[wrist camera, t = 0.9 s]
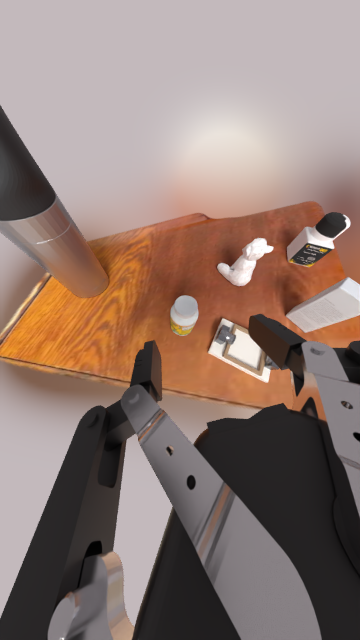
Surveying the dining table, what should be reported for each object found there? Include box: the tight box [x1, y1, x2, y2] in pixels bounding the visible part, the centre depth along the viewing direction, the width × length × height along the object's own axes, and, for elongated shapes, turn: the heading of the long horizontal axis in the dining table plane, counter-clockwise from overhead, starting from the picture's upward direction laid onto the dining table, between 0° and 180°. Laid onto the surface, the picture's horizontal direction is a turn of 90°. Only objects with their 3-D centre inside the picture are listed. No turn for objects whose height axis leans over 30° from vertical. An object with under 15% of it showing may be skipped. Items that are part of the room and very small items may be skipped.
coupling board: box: [208, 318, 270, 382], centre depth 29 cm, size 13×9×2 cm
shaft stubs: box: [215, 325, 279, 370], centre depth 27 cm, size 13×4×2 cm, turn 63°
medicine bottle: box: [287, 212, 350, 267], centre depth 38 cm, size 7×7×12 cm
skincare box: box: [286, 277, 360, 333], centre depth 28 cm, size 6×4×12 cm
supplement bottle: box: [170, 295, 198, 336], centre depth 26 cm, size 5×5×10 cm
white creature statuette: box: [217, 238, 273, 286], centre depth 32 cm, size 10×9×12 cm
